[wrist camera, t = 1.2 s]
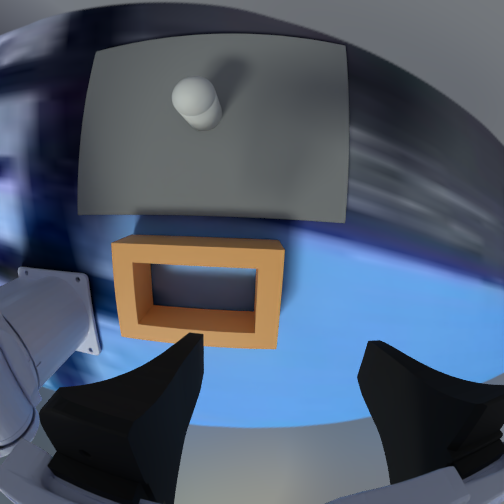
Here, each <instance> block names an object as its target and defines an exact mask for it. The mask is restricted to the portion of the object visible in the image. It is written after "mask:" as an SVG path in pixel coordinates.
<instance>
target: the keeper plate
mask: <svg viewBox="0 0 504 504" xmlns="http://www.w3.org/2000/svg"><path fill="white" fill-rule="evenodd" d="M348 162H349V95H348V73H347V57H346V46H344V45H339V44H334V43H329V42H324V41H318V40H311V39H304V38H296V37H287V36H277V35H262V34H203V35H189V36H178V37H169V38H161V39H154V40H148V41H142V42H137V43H131V44H127V45H122V46H117V47H113V48H109V49H105V50H101V51H97V52H96V55H95V59H94V63H93V67H92V71H91V76H90V81H89V86H88V91H87V96H86V102H85V109H84V115H83V123H82V131H81V141H80V152H79V168H78V215H192V216H226V217H251V218H272V219H291V220H308V221H323V222H337V223H345V216H346V203H347V186H348Z"/></svg>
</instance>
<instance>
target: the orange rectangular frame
mask: <svg viewBox="0 0 504 504" xmlns="http://www.w3.org/2000/svg"><path fill="white" fill-rule="evenodd" d="M111 247H112V263H113V275H114V285H115V294H116V303H117V310H118V317H119V324H120V330H121V336H122V337H128V338H135V339H142V340H150V341H158V342H167V343H176V342H178V341H179V340H180V339H181V338H183V337H184V336H185V335H187V334H188V333H189V332H191V333H199V334H204V346H211V347H227V348H249V349H276V347H277V337H278V327H279V316H280V305H281V293H282V281H283V268H284V255H285V249H284V248H283V246H282V244H281V243H280V241H279V240H269V239H246V238H222V237H195V236H165V235H130V236H127V237H125V238H122V239H120V240H117V241H115V242H112V243H111ZM151 263H152V264H170V265H189V266H210V267H231V268H255V269H256V283H255V303H254V311H231V310H213V309H197V308H183V307H171V306H159V305H153V295H152V280H151Z"/></svg>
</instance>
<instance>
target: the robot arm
mask: <svg viewBox="0 0 504 504" xmlns="http://www.w3.org/2000/svg"><path fill="white" fill-rule="evenodd" d="M27 272H28V273H27ZM18 274H19V278H17V279H15V280H13V281H11V282H9V283H7V284H5V285H3V286H0V457H3V456H6V455H8V456H7V458H6V459H5V461H4V462H3V463H2V465H1V466H0V491H1V492H2V493H3V494H4V495H5V496H6V497H7V498H9V499H10V500H11V501H12V502H13V503H14V504H174V498H175V491H176V484H177V477H178V471H179V466H180V459H181V454H182V449H183V444H184V439H185V435H186V431H187V428H188V425H189V422H190V420H191V417H192V414H193V411H194V408H195V405H196V402H197V399H198V396H199V393H200V389H201V384H202V379H203V374H204V334H199V333H191V332H189V333H188V334H187V335H185V336H184V337H183V338H181V339H180V340H179V341H178V342H176V343H175V344H174V345H173V346H171V347H170V348H169V349H167V350H166V351H165V352H163V353H162V354H160V355H159V356H157V357H156V358H154V359H153V360H151V361H150V362H148V363H146V364H144V365H142V366H141V367H138V368H136V369H134V370H132V371H130V372H128V373H125V374H122V375H119V376H117V377H114V378H111V379H108V380H104V381H101V382H96V383H92V384H87V385H80V386H71V387H60V388H59V389H58V390H57V391H56V392H55V393H54V394H53V396H52V397H51V398H50V399H49V400H48V402H47V403H46V404H45V405H44V406H43V407H42V409H41V410H40V413H39V414H38V412H37V410H36V408H35V407H36V406H37V405H38V403H39V402H40V401H41V400H42V398H41V396H40V394H39V391H38V390H39V389H40V388H41V387H42V385H43V384H44V383H45V382H46V381H47V380H48V379H49V378H50V377H51V376H52V375H53V373H54V372H55V371H56V370H57V369H58V368H59V367H60V366H61V365H62V364H63V363H64V362H65V361H66V360H67V359H68V358H69V357H70V356H71V354H72V353H73V352H74V351H75V350H76V351H80V352H84V353H89V354H93V355H99V354H100V353H101V348H100V344H99V339H98V335H97V330H96V324H95V319H94V313H93V307H92V301H91V294H90V287H89V279H88V276H87V275H86V274H84V273H75V272H66V271H56V270H47V269H38V268H30V267H19V268H18ZM78 277H79V278H80V281H79V280H78ZM91 348H92V349H91ZM357 379H358V383H359V386H360V390H361V393H362V396H363V398H364V400H365V403H366V405H367V407H368V409H369V412H370V414H371V416H372V418H373V420H374V422H375V425H376V426H377V429H378V432H379V434H380V437H381V441H382V444H383V448H384V452H385V456H386V461H387V465H388V471H389V478H390V484H391V485H388V486H385V487H381V488H376V489H372V490H368V491H363V492H359V493H356V494H352V495H348V496H344V497H340V498H338V499H335V500H333V501H330V502H328V503H325V504H501V503H502V502H503V501H504V442H502V441H501V440H500V438H501V437H502V436H503V433H502V432H501V431H500V429H501V427H502V426H503V424H504V385H489V384H482V383H476V382H471V381H466V380H463V379H459V378H456V377H452V376H449V375H447V374H444V373H442V372H439V371H437V370H434V369H432V368H430V367H428V366H426V365H424V364H422V363H420V362H418V361H417V360H415V359H413V358H411V357H409V356H408V355H406V354H404V353H403V352H401V351H399V350H397V349H396V348H394V347H392V346H390V345H388V344H387V343H385V342H382V341H380V340H379V341H368V343H367V347H366V350H365V353H364V357H363V360H362V363H361V366H360V369H359V373H358V376H357ZM39 418H40V422H41V425H42V427H43V429H44V431H45V432H46V434H47V436H48V438H49V439H50V441H51V443H52V444H53V446H54V447H55V449H56V451H57V452H56V453H55V455H54V456H53V457H52V456H51V455H50V454H49V453H48V452H46V451H45V450H43V449H41V448H40V447H38V446H36V445H34V444H32V443H31V441H32V440H33V438H34V437H35V434H36V432H37V429H38V426H39Z"/></svg>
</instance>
